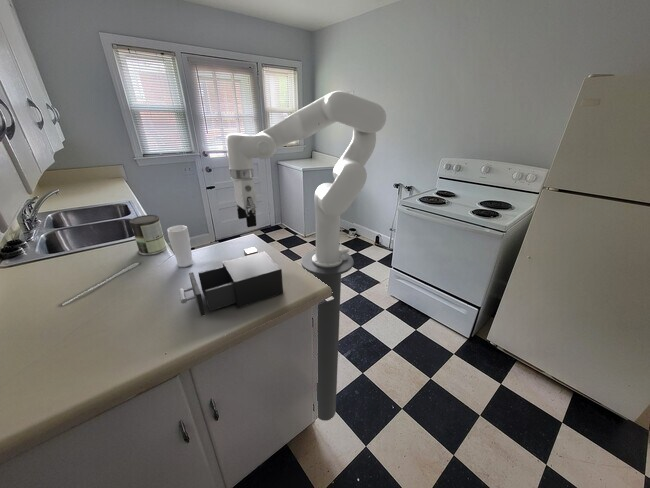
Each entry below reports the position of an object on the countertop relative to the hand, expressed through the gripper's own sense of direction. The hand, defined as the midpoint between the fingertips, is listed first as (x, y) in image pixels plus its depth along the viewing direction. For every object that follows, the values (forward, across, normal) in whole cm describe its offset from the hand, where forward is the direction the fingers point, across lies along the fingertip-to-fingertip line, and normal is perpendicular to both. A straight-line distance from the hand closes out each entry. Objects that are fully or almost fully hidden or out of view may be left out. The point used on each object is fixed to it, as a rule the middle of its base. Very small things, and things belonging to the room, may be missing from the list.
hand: (247, 222), depth 97 cm
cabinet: (+18, -16, +5) cm, 24 cm away
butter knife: (+19, +16, +46) cm, 52 cm away
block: (+18, +4, -2) cm, 18 cm away
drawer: (+17, -16, +18) cm, 29 cm away
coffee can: (+18, +36, +31) cm, 51 cm away
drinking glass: (+18, +14, +21) cm, 31 cm away
